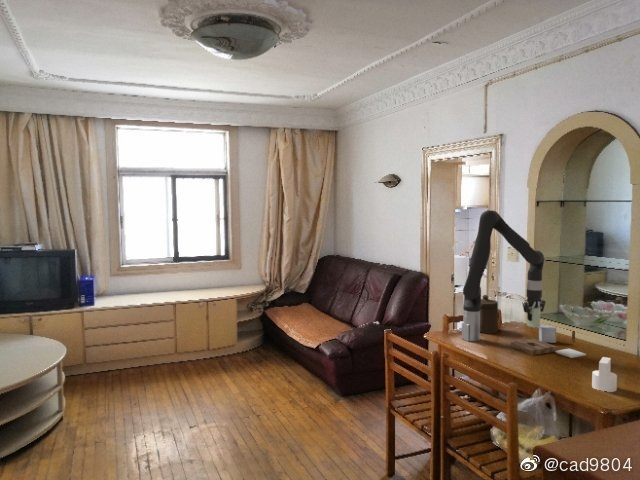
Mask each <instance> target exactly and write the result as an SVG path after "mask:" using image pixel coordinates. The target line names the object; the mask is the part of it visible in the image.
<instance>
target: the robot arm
mask: <svg viewBox="0 0 640 480" xmlns="http://www.w3.org/2000/svg"><path fill="white" fill-rule="evenodd" d="M493 230H495V231H497V232H498V233H499V234H500V235H501V236H502V237H503V238H504V239H505V241H506V242H507V243H508V244H509V245H510V246H511V247H512V248H513V249H514V250H516V251H517V252H518V253H519V254H520V255H521V257H522V258H523V259H524V260H525V261H526V262H527V263H528V264H529V269H528V270H527V277H526V279H527V280H526V281H527V282H526V298H527V299H526V301H522V307H523V312H524V313H526V315H527V316H526V320H527V319H528V320H529V321H532V310H533V309H534V307H537V308H540V314H541V312H544V309H545V305H546V300H543V299H542V298H543V267H544V261H545V256H544V253H543V252H542V251H540V250H535V249H533V247H531V246H530V243H529V242H528V241H527V240H526V239H525V238H523V236H521V235H520V234H519V232H518V233H517V232H516V231H515V230H514V229H513V228H512V227H511V226H510V225H509V224H507V222H506V221H505V220H504V219H503V218H502V216H501V215H500V214H499V213H498V212H497V211H496V210H491V209H490V210H489V209H487V210H483V212H482V213H481V214H480V217H479V222H478V230H477V234H476V238H475V241H474V245H473V250H472V251H471V256H470V261H469V268H468V274H467V278H466V280H465V283H464V285H463V288H462V293H463V294H462V295H463V296H464V297H463V299H464V300H463V306H462V307H463V311H462V312H463V313H462V314H463V319H462V321H463V322H461V339H462V340H464V341H465V342H479V341H480V340H481V333H480V306H481V299H482V287H481V281H482V276H483V275H484V272H485V270H486V268H487V265H488V262H489V259H490V255H491V249H492V248H491V247H492V246H491V244H492V243H491V238H492V232H493ZM530 307H531V308H530ZM529 309H530V311H529Z"/></svg>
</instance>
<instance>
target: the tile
mask: <svg viewBox="0 0 640 480" xmlns="http://www.w3.org/2000/svg"><path fill="white" fill-rule="evenodd" d="M554 353H556V354H559V355H561V356H564V357H568V358H570V359H573V358H579V357H585V356H587V353H584V352H581V351H578V350H576V349H572V348H565V349H557V351H555V352H554Z"/></svg>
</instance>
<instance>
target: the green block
mask: <svg viewBox="0 0 640 480" xmlns="http://www.w3.org/2000/svg"><path fill="white" fill-rule="evenodd" d="M530 308H531V307H530ZM529 311H530V309H529ZM526 326H527V327H530V328H539V327H540V326H541V313H540V308H537V307H534V309H533V310H532V321H529V320H528V319H527V318H526Z"/></svg>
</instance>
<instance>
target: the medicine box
mask: <svg viewBox="0 0 640 480" xmlns="http://www.w3.org/2000/svg"><path fill="white" fill-rule="evenodd" d="M538 340H539V341H542V342H545V343H548V344H550V343H551V344H552V343H554V344H555V343H557V327H555V326H554V325H540V327H538Z"/></svg>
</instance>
